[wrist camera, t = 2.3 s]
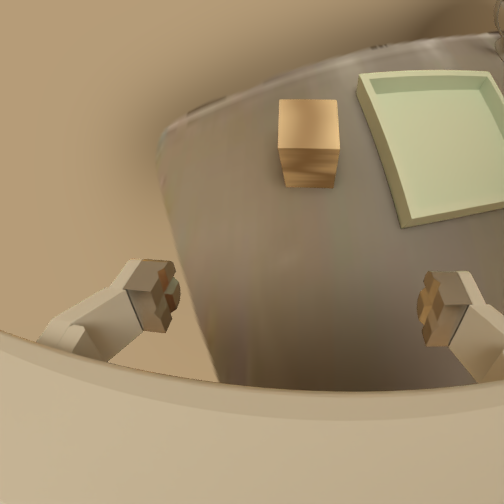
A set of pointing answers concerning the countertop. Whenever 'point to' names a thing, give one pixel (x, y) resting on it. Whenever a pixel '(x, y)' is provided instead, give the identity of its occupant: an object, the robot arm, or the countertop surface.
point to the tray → (437, 141)
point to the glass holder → (503, 43)
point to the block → (308, 142)
